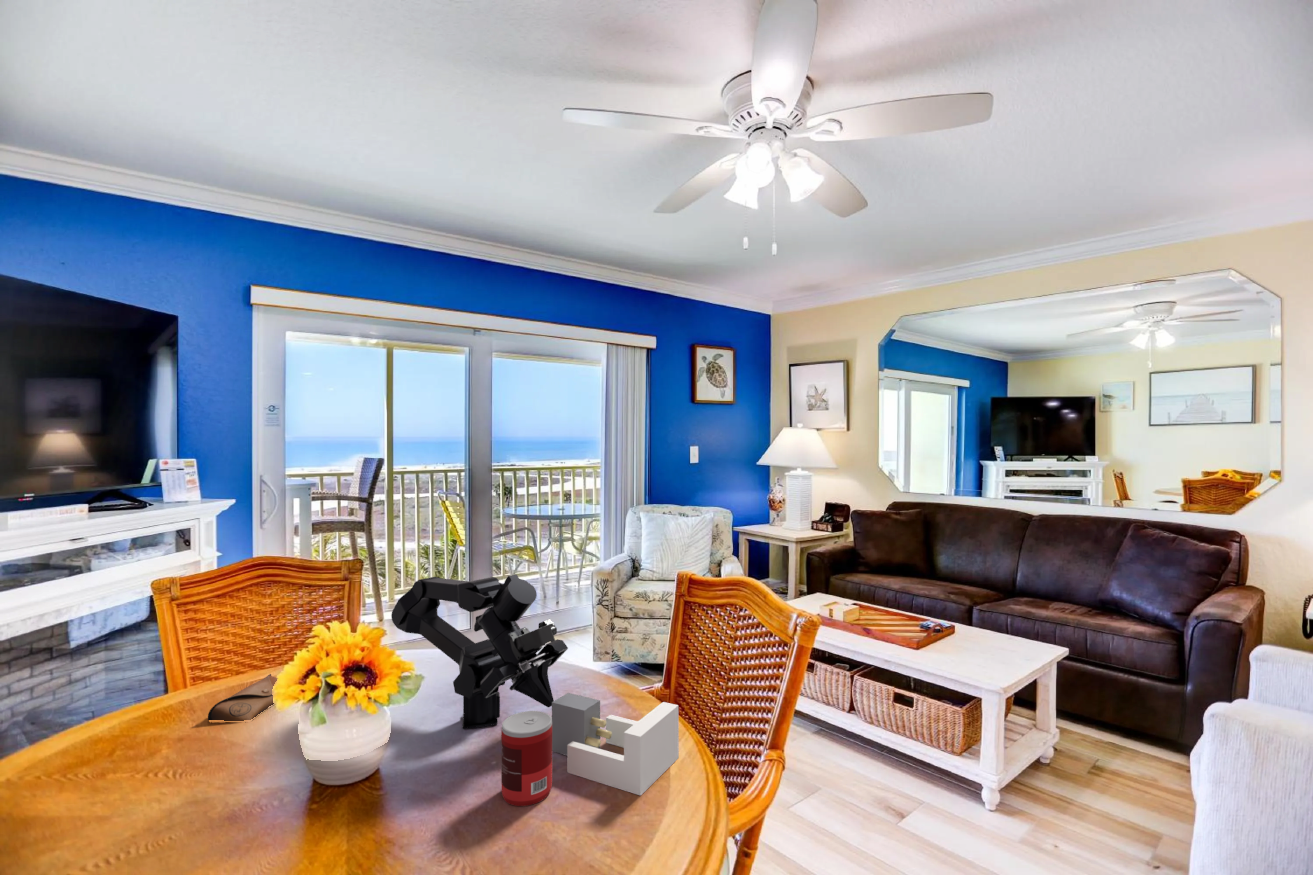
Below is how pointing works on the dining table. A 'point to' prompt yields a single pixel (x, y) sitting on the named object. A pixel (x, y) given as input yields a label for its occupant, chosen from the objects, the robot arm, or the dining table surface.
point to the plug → (576, 722)
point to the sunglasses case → (245, 702)
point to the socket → (630, 751)
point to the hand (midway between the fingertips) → (551, 705)
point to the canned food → (526, 758)
